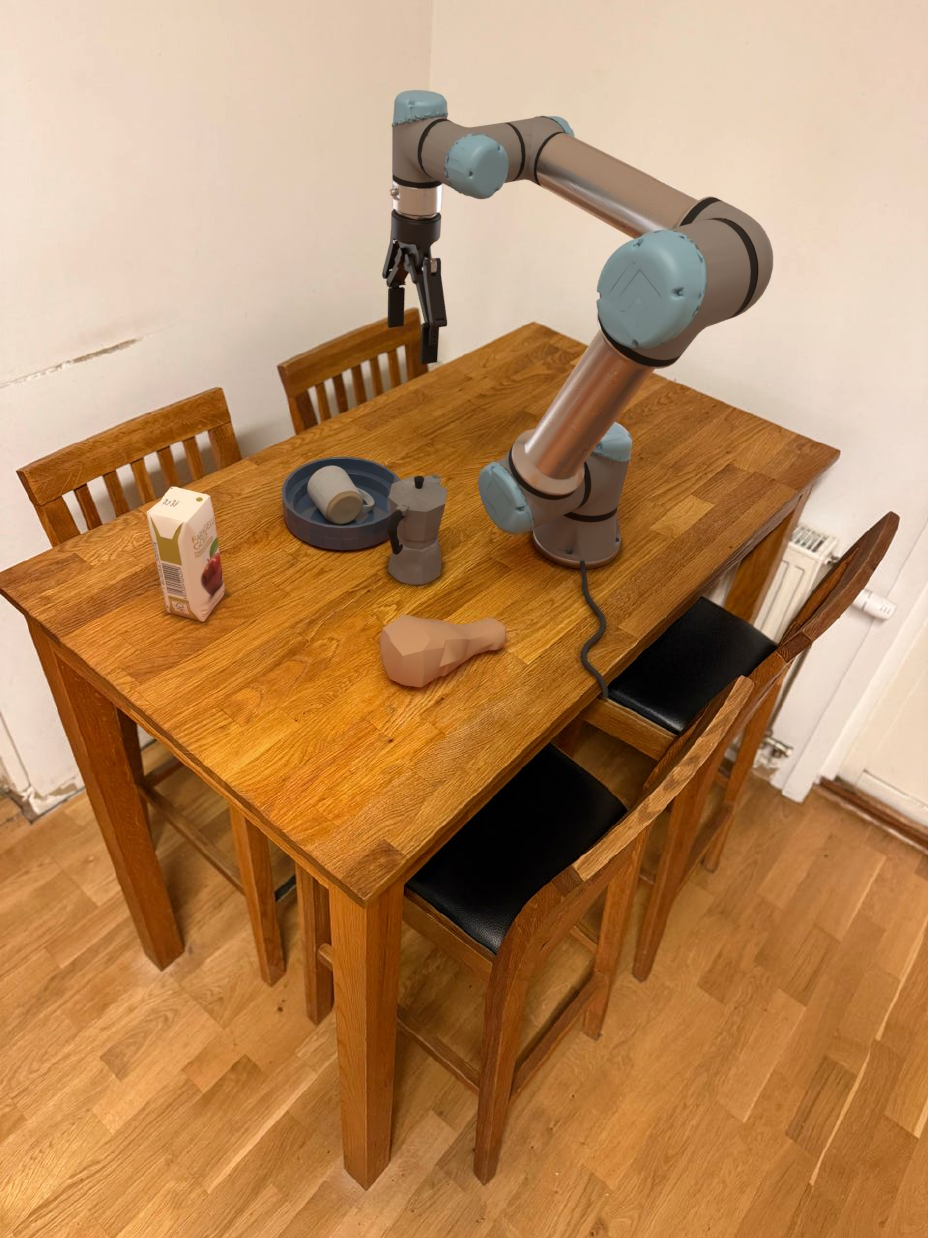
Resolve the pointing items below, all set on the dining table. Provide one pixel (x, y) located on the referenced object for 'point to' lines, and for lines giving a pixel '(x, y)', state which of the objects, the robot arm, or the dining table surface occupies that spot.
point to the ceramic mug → (337, 495)
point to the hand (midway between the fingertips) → (411, 343)
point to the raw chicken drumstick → (434, 646)
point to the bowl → (318, 529)
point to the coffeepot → (416, 529)
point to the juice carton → (187, 552)
